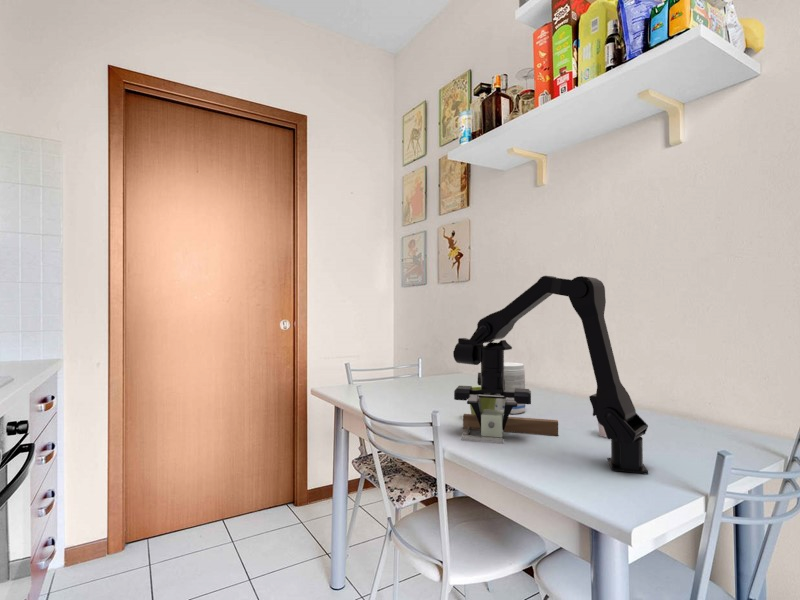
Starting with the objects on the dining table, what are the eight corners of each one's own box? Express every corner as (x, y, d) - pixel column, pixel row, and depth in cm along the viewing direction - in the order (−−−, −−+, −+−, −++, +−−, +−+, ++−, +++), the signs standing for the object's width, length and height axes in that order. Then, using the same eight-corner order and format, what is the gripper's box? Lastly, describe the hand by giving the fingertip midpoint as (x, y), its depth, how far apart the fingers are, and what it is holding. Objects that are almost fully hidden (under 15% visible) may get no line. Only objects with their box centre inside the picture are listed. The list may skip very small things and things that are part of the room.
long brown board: (558, 435, 111) (558, 422, 111) (463, 428, 118) (463, 415, 118) (557, 433, 113) (557, 420, 113) (464, 426, 120) (464, 413, 120)
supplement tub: (531, 411, 138) (531, 363, 138) (514, 416, 131) (514, 366, 131) (504, 406, 145) (504, 361, 145) (487, 410, 138) (487, 363, 138)
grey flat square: (503, 443, 105) (503, 439, 105) (461, 439, 108) (461, 435, 108) (505, 432, 114) (505, 428, 114) (466, 429, 117) (466, 425, 117)
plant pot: (482, 425, 121) (482, 394, 121) (459, 418, 129) (459, 388, 129) (506, 420, 126) (506, 390, 126) (482, 414, 134) (482, 385, 134)
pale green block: (501, 438, 107) (501, 417, 107) (480, 436, 108) (480, 416, 108) (503, 429, 114) (503, 410, 114) (483, 428, 116) (483, 409, 116)
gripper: (530, 364, 117) (530, 423, 117) (460, 361, 122) (460, 418, 122) (530, 370, 106) (531, 435, 106) (453, 367, 111) (453, 429, 111)
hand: (492, 428), depth 111 cm, fingers closed on pale green block, 5 cm apart
